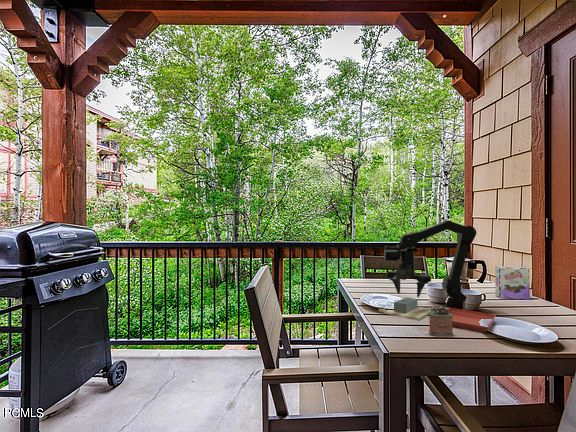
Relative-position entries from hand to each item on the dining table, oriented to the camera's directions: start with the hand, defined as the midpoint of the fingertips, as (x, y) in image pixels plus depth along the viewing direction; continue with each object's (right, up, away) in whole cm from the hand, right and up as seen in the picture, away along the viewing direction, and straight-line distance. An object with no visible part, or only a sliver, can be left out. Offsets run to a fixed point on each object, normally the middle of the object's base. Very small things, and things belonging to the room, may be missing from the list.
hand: (408, 295), depth 140 cm
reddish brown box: (0, -7, -30) cm, 31 cm away
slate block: (+3, -4, +3) cm, 6 cm away
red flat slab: (+16, -7, -18) cm, 25 cm away
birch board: (-2, -7, -2) cm, 8 cm away
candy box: (+64, -7, +21) cm, 67 cm away
